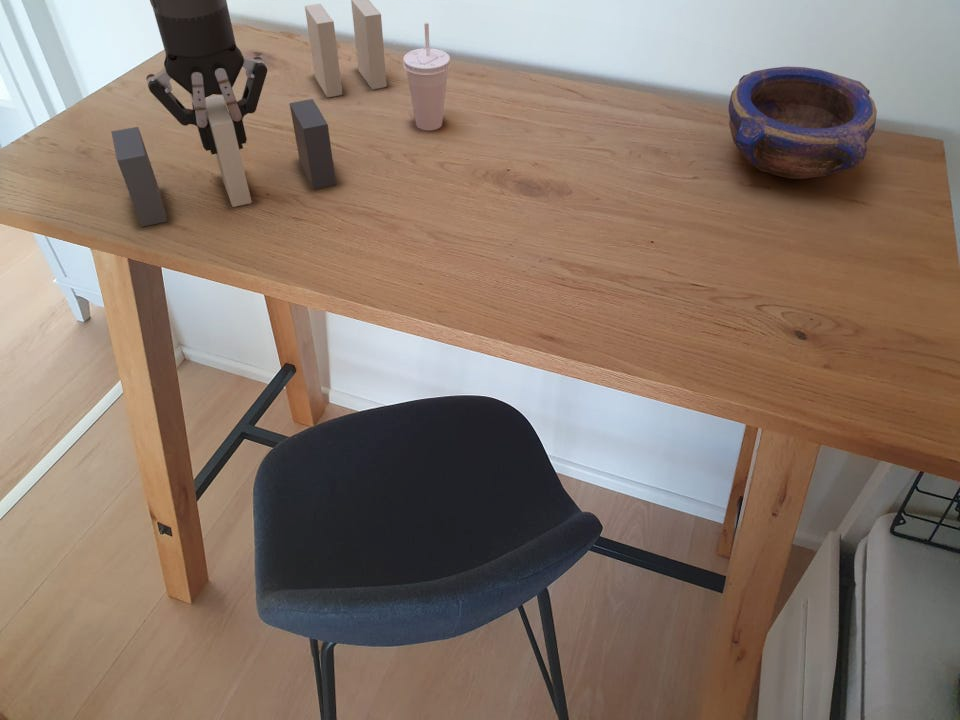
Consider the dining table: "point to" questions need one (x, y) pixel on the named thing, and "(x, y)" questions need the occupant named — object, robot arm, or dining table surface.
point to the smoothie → (427, 83)
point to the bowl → (801, 121)
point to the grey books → (144, 185)
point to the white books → (366, 46)
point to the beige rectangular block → (227, 151)
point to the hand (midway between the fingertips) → (225, 148)
